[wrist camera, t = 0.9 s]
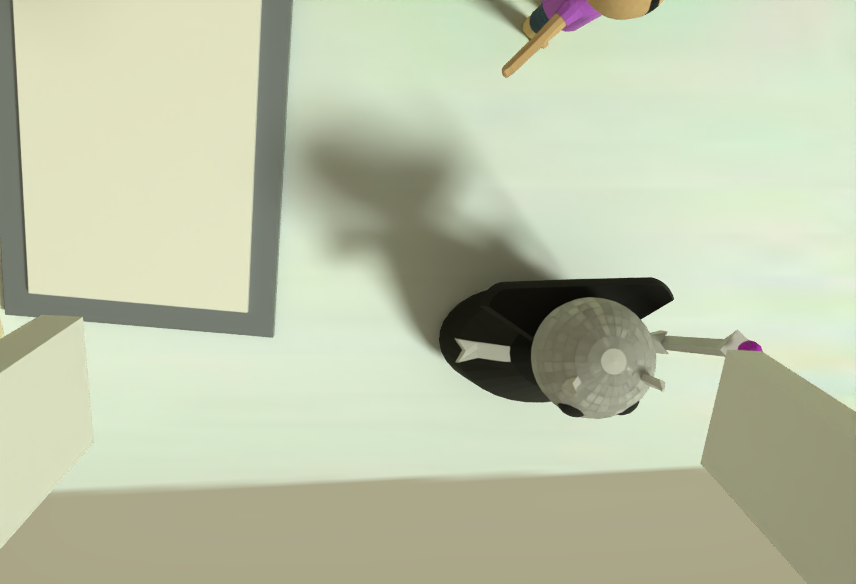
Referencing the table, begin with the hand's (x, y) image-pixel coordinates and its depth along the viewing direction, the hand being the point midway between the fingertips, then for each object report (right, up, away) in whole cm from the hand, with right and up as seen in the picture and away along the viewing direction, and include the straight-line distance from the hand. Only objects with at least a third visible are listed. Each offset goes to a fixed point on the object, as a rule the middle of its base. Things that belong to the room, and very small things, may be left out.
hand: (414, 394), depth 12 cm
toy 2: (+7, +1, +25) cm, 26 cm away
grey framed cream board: (-15, +10, +21) cm, 27 cm away
